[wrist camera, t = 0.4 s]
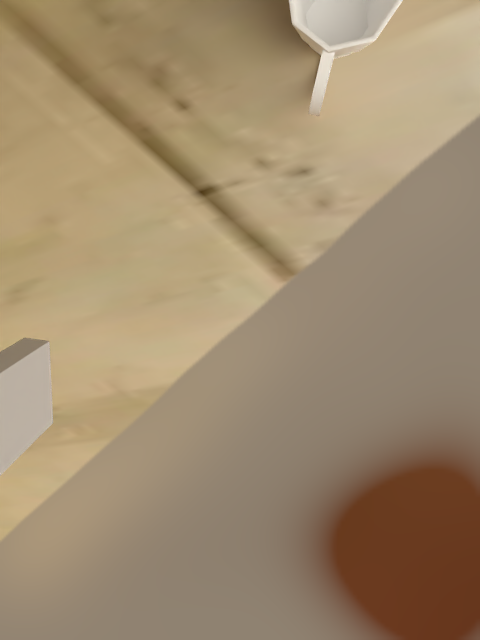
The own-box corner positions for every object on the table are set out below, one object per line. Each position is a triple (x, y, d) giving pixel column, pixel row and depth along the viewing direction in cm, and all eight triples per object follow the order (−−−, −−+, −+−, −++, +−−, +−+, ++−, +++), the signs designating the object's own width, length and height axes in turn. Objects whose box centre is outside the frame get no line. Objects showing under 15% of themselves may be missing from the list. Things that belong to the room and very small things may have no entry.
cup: (397, -20, 32) (428, -82, 24) (356, 130, 35) (372, 117, 27) (300, -39, 32) (300, -106, 24) (268, 111, 35) (260, 93, 28)
